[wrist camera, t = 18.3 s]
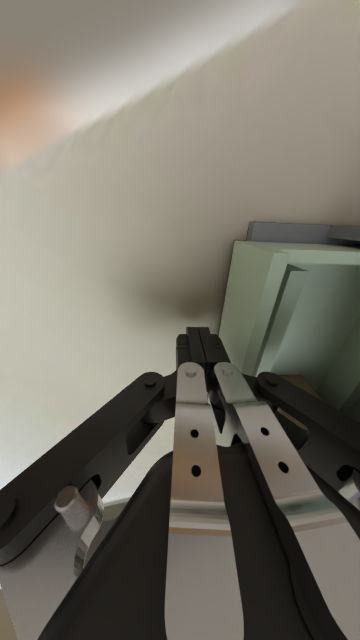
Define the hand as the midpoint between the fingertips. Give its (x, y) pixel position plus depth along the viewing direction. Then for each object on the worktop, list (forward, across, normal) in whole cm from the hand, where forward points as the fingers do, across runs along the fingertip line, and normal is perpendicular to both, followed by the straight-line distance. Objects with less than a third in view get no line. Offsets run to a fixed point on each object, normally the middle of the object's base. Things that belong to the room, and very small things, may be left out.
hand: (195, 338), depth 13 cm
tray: (+2, -9, +4) cm, 10 cm away
